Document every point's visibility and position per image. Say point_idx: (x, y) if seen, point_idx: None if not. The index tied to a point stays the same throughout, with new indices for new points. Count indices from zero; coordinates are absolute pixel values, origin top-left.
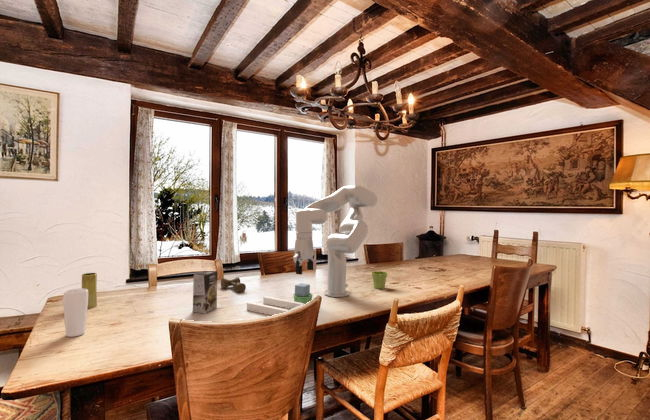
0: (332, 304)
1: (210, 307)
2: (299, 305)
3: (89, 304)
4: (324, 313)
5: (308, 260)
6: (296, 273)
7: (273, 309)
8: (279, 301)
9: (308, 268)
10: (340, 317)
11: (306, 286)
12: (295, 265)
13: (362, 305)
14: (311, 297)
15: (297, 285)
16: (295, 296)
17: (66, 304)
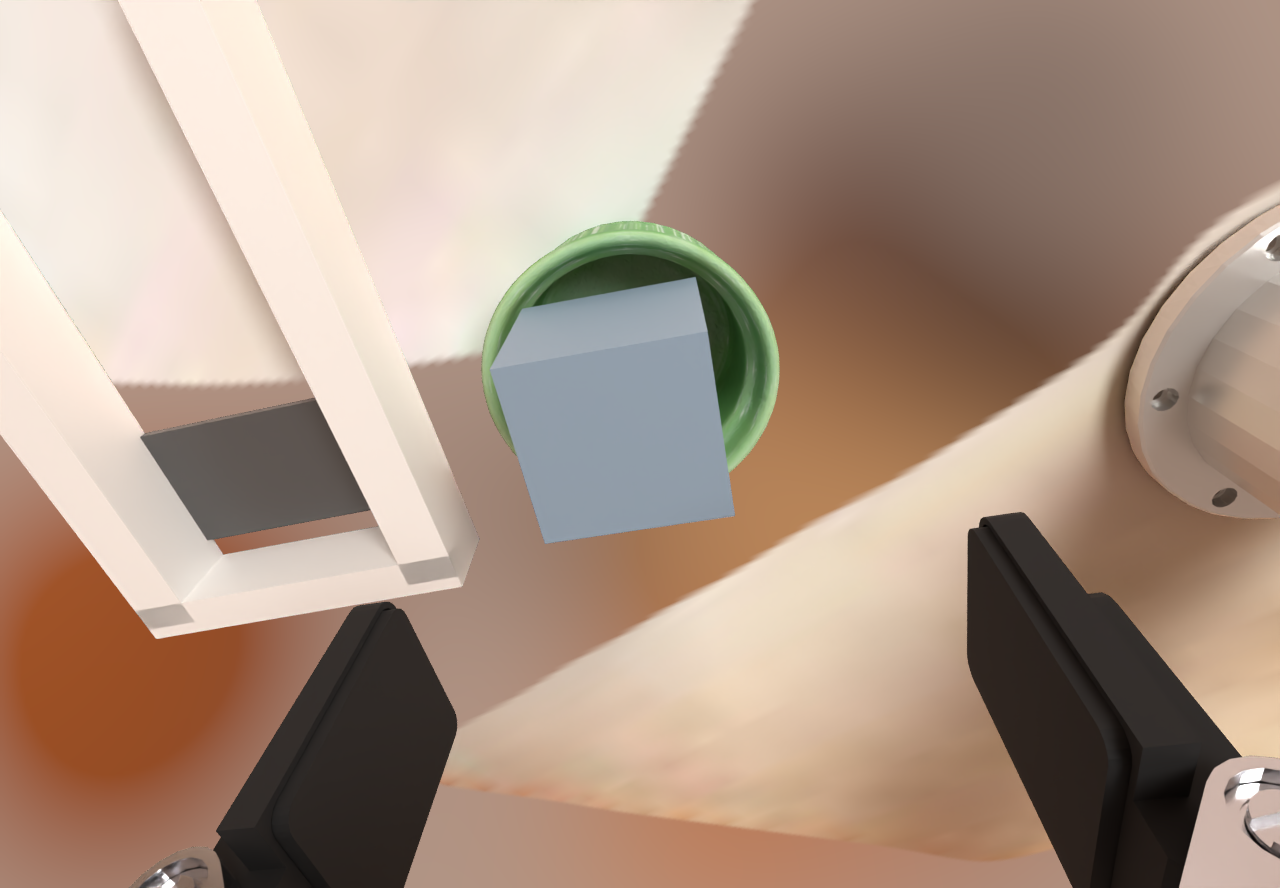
0: (838, 575)
1: None
2: (357, 577)
3: None
4: (559, 673)
5: (1193, 847)
6: (363, 622)
7: (39, 466)
8: (253, 251)
9: (983, 587)
10: (585, 781)
11: (627, 525)
12: (177, 857)
13: (983, 744)
14: None
15: (519, 412)
16: (482, 370)
17: None
